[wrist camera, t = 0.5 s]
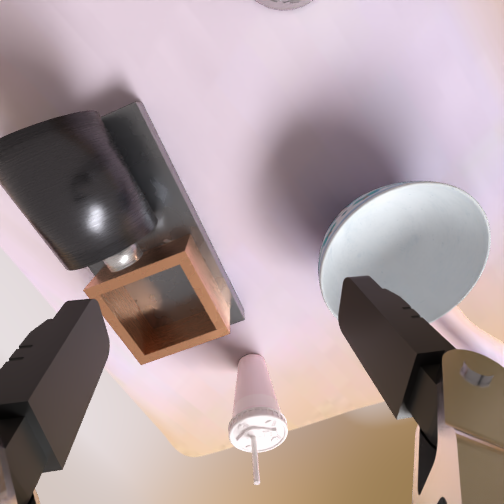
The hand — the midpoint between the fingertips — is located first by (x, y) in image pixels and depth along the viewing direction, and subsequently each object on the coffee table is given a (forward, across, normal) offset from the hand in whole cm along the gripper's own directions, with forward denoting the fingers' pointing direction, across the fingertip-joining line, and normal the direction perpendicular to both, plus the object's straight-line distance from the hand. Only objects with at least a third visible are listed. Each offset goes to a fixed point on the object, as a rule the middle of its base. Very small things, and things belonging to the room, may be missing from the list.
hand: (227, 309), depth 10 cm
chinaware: (+20, -17, +6) cm, 27 cm away
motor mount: (+22, +7, +6) cm, 24 cm away
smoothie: (+21, -4, +25) cm, 33 cm away
